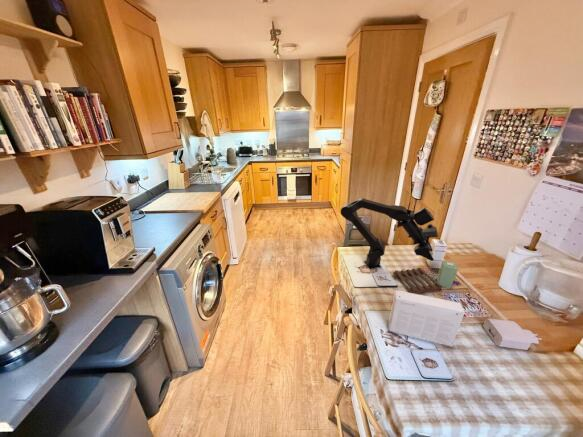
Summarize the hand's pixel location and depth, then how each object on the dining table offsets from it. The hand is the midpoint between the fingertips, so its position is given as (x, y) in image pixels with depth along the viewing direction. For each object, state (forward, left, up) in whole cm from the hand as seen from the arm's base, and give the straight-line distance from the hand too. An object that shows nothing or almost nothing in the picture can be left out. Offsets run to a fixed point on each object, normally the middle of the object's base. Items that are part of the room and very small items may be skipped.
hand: (432, 255), depth 109 cm
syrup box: (+12, +9, -14) cm, 20 cm away
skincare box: (-25, -27, -14) cm, 40 cm away
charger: (+7, -36, -14) cm, 39 cm away
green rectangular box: (+6, -5, -13) cm, 15 cm away
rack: (-7, -2, -13) cm, 15 cm away
